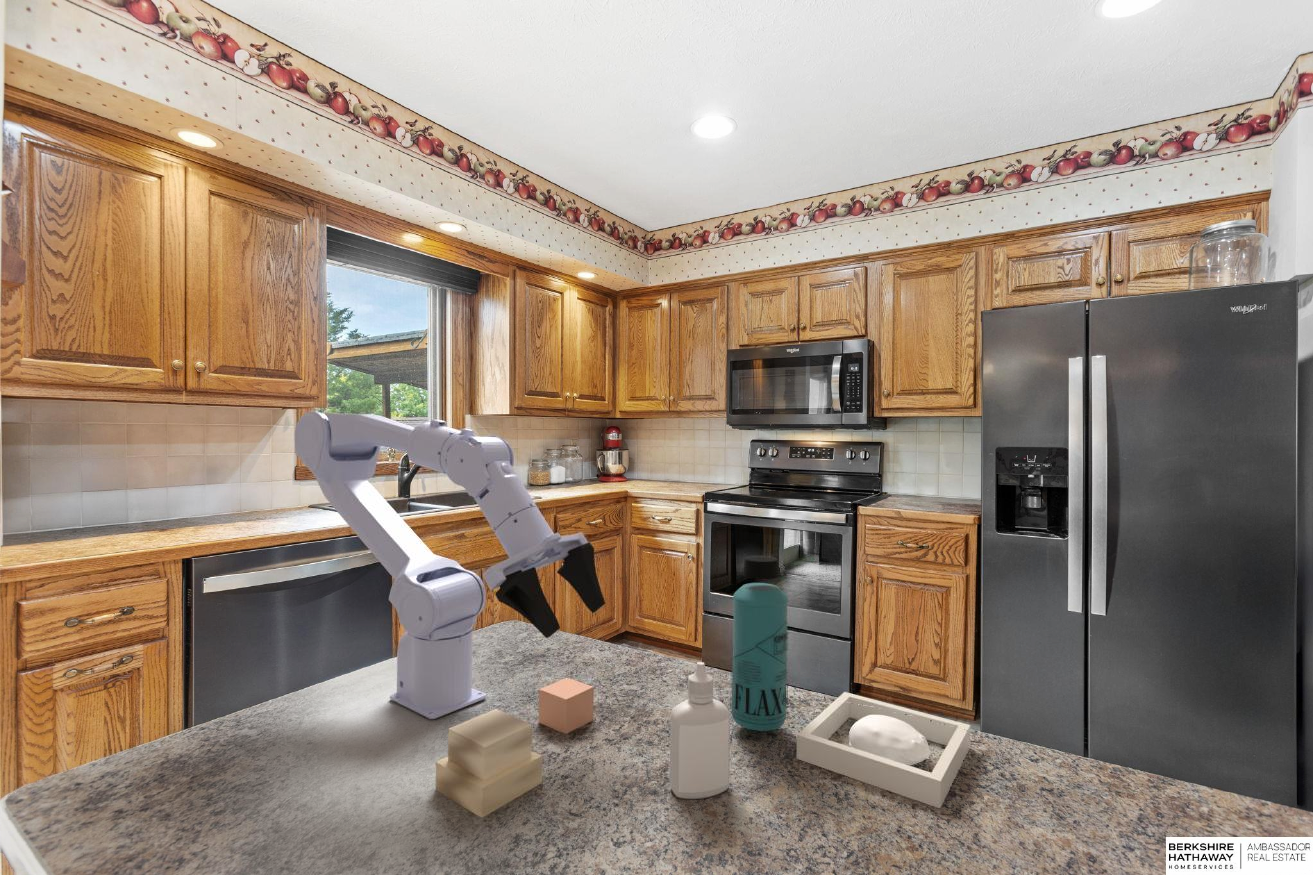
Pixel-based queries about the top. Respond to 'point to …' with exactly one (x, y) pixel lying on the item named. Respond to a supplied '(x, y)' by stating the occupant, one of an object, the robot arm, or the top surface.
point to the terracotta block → (566, 705)
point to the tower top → (489, 743)
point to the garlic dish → (879, 769)
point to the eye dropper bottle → (699, 741)
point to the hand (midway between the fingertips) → (577, 620)
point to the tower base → (487, 784)
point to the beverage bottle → (759, 649)
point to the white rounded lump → (889, 739)
